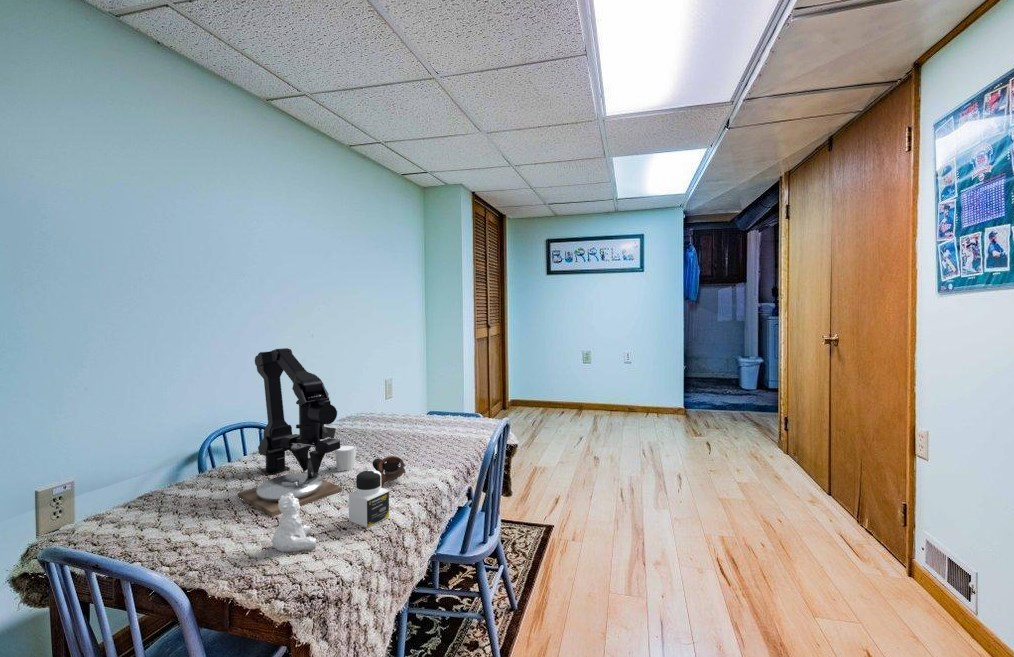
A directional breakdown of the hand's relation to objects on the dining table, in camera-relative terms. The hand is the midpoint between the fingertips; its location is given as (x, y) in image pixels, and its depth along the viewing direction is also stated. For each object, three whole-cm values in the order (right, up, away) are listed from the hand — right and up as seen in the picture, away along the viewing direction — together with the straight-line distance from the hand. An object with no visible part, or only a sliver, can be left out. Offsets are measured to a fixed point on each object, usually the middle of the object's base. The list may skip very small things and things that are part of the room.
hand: (310, 471), depth 132 cm
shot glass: (+5, -4, +16) cm, 17 cm away
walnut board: (-3, -5, -6) cm, 8 cm away
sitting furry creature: (+11, -6, -33) cm, 36 cm away
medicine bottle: (+24, -6, -21) cm, 32 cm away
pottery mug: (+22, -5, +6) cm, 23 cm away
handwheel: (-3, -3, -6) cm, 7 cm away
